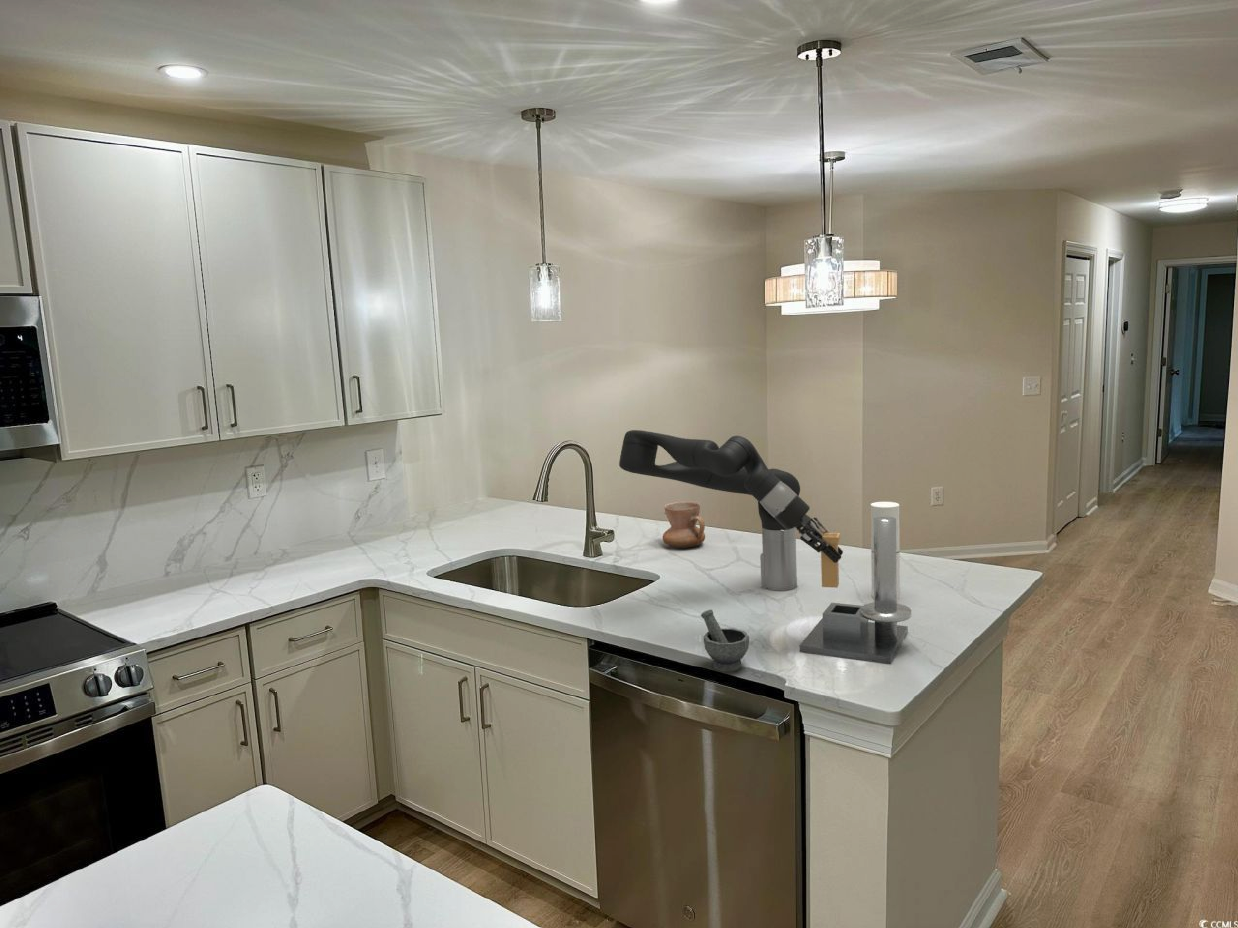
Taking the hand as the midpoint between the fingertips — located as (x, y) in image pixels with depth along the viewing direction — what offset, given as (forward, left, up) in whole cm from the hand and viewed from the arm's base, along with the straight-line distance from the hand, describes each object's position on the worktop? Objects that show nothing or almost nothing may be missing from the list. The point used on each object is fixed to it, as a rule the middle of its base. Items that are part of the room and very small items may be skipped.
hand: (839, 557), depth 196 cm
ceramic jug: (-70, +68, -20) cm, 99 cm away
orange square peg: (-2, 0, -7) cm, 7 cm away
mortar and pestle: (-20, -23, -20) cm, 36 cm away
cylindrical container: (+3, +35, -20) cm, 40 cm away
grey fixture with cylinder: (+5, 0, -20) cm, 20 cm away
